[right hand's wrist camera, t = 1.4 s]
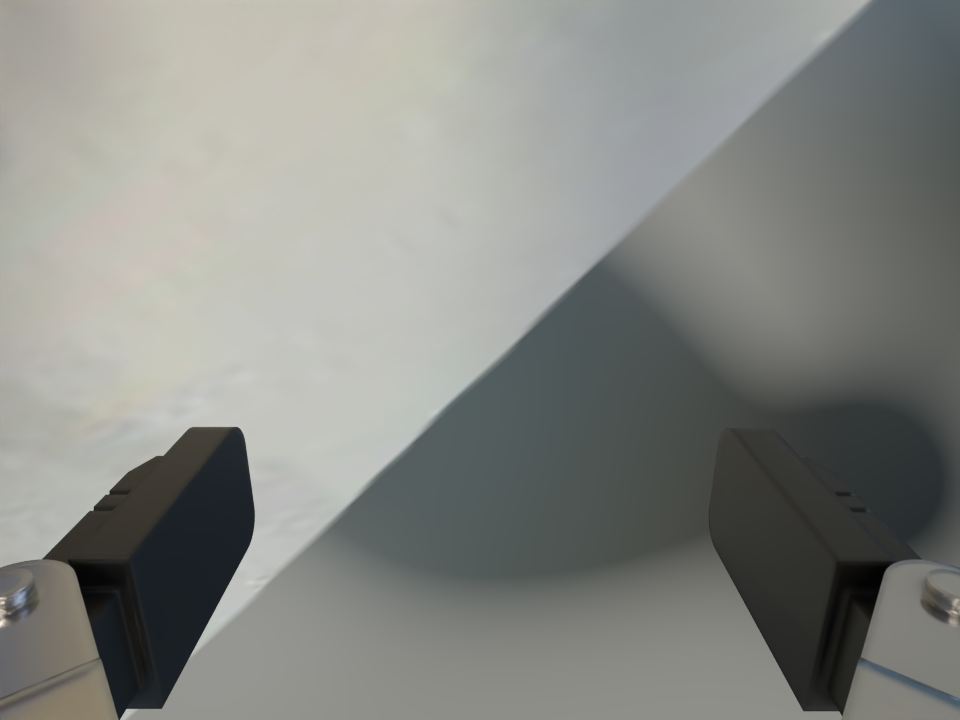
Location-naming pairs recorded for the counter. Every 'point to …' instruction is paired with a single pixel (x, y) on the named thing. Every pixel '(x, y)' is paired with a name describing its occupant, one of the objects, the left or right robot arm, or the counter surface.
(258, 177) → the counter surface
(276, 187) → the counter surface
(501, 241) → the counter surface
